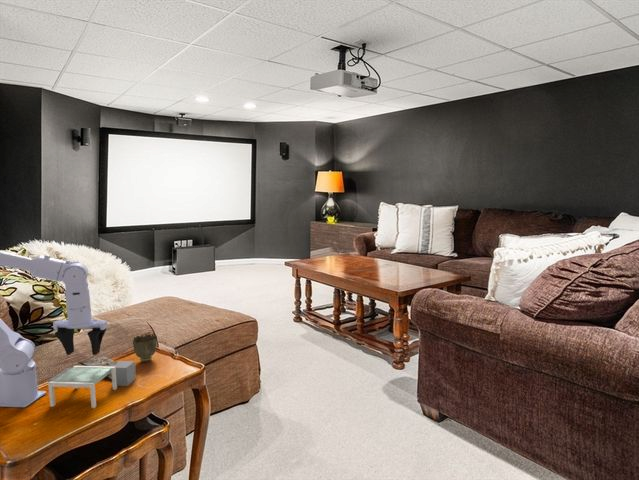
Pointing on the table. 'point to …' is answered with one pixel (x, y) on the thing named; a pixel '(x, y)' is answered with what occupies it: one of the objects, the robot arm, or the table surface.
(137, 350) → the cup
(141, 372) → the table surface
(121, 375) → the stone block
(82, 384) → the miniature coffee table
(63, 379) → the trapdoor plate
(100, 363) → the stone fragment
